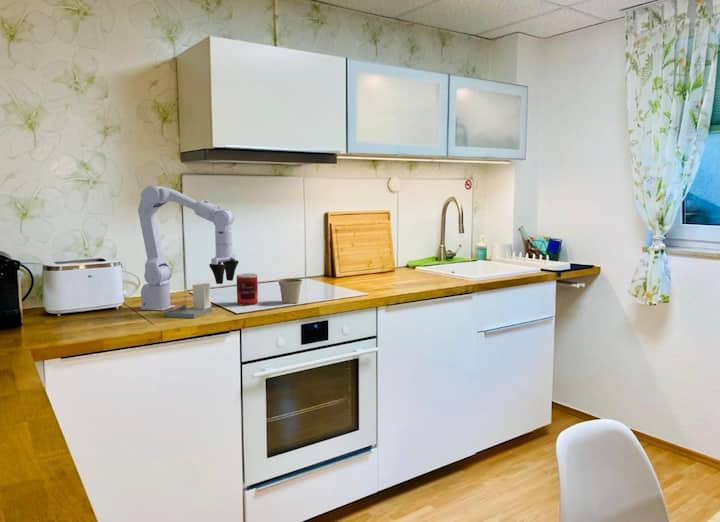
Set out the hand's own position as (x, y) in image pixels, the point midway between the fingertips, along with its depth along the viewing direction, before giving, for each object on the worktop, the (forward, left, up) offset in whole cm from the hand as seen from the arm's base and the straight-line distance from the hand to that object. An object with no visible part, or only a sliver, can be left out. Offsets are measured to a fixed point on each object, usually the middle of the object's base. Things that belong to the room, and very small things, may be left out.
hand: (224, 282), depth 198 cm
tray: (-9, -9, -10) cm, 16 cm away
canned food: (+3, +13, -10) cm, 16 cm away
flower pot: (+18, +19, -10) cm, 28 cm away
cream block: (-9, 0, -10) cm, 14 cm away
